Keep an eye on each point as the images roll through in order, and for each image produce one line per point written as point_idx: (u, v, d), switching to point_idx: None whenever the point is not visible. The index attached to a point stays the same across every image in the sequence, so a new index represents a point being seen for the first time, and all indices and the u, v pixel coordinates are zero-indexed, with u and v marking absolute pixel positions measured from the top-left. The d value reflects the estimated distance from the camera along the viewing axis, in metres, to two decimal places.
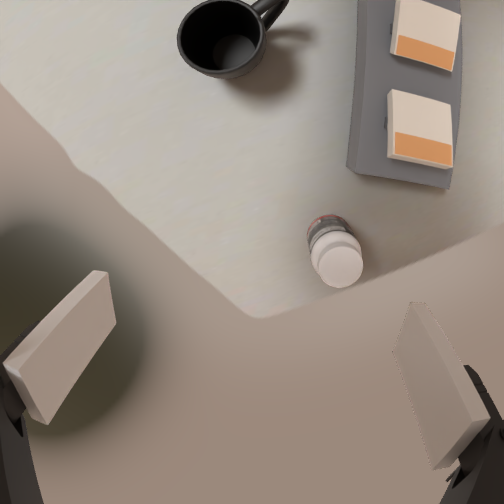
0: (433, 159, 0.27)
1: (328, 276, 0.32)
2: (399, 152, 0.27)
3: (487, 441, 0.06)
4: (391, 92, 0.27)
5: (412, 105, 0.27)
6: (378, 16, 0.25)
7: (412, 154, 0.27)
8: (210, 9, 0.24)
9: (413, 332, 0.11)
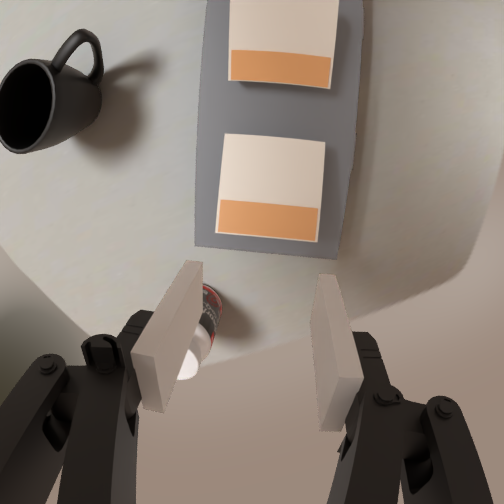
0: (282, 233, 0.22)
1: None
2: (225, 229, 0.22)
3: (361, 409, 0.08)
4: None
5: (254, 153, 0.21)
6: (221, 26, 0.20)
7: (246, 230, 0.22)
8: (24, 72, 0.19)
9: (318, 300, 0.14)
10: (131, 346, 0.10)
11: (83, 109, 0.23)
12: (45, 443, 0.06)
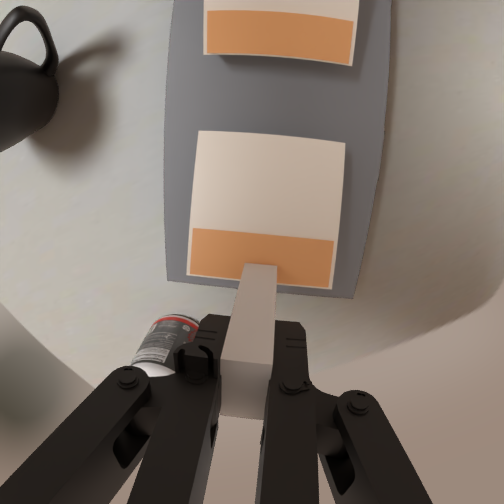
0: (281, 277, 0.15)
1: None
2: (200, 270, 0.15)
3: (268, 400, 0.08)
4: None
5: (242, 160, 0.15)
6: None
7: (230, 271, 0.15)
8: None
9: None
10: None
11: (28, 106, 0.16)
12: (113, 461, 0.06)
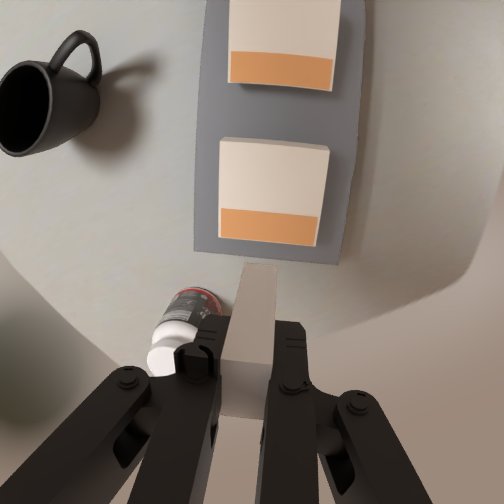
0: (282, 238, 0.23)
1: (160, 373, 0.26)
2: (228, 234, 0.23)
3: (268, 400, 0.08)
4: None
5: (253, 163, 0.20)
6: (220, 27, 0.20)
7: (247, 235, 0.23)
8: (21, 74, 0.19)
9: None
10: None
11: (81, 111, 0.23)
12: (113, 461, 0.06)
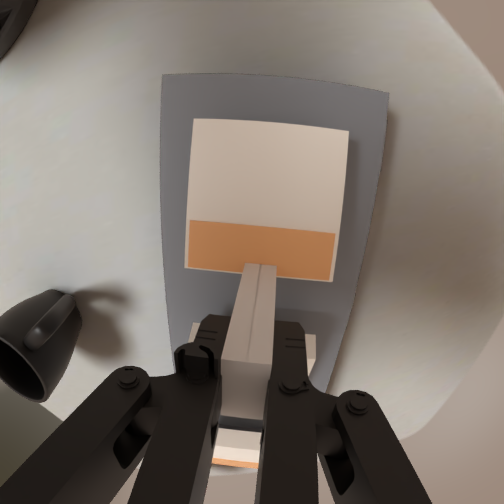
0: (252, 466, 0.26)
1: None
2: (212, 461, 0.26)
3: (267, 400, 0.08)
4: None
5: (226, 451, 0.22)
6: (186, 324, 0.21)
7: (227, 463, 0.26)
8: None
9: None
10: None
11: (68, 356, 0.25)
12: (113, 461, 0.06)
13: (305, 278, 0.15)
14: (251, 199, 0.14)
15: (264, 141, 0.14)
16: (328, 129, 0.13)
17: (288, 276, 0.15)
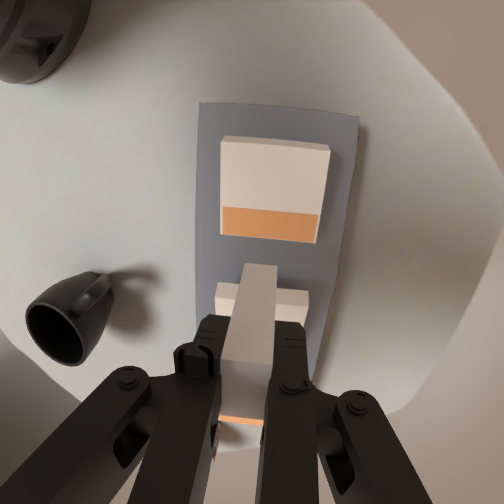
0: (258, 423, 0.32)
1: None
2: (224, 419, 0.32)
3: (267, 400, 0.08)
4: None
5: None
6: (209, 289, 0.28)
7: (236, 421, 0.32)
8: None
9: None
10: None
11: (103, 326, 0.32)
12: (113, 461, 0.06)
13: (298, 241, 0.23)
14: (262, 194, 0.22)
15: (271, 158, 0.20)
16: (315, 150, 0.19)
17: (287, 239, 0.23)
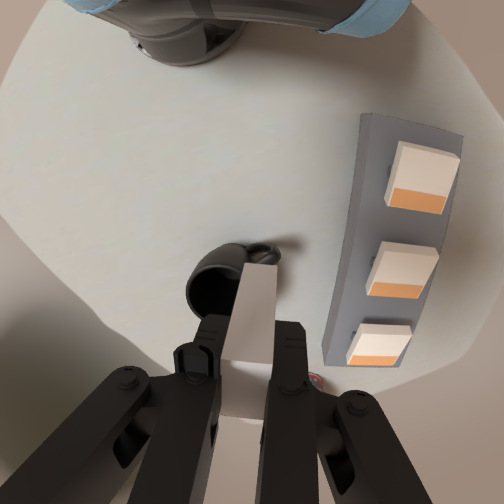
0: (378, 363, 0.40)
1: None
2: (352, 363, 0.41)
3: (268, 400, 0.08)
4: (361, 333, 0.37)
5: (375, 340, 0.37)
6: (362, 250, 0.37)
7: (362, 363, 0.40)
8: None
9: None
10: None
11: None
12: (113, 461, 0.06)
13: (432, 212, 0.32)
14: (419, 182, 0.30)
15: (429, 160, 0.28)
16: (453, 158, 0.27)
17: (426, 211, 0.32)
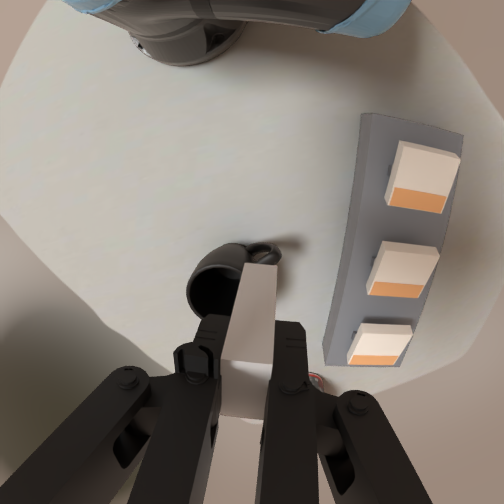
0: (379, 363, 0.40)
1: None
2: (353, 363, 0.41)
3: (268, 400, 0.08)
4: (361, 332, 0.37)
5: (375, 340, 0.37)
6: (363, 250, 0.37)
7: (362, 363, 0.40)
8: None
9: None
10: None
11: None
12: (113, 461, 0.06)
13: (432, 211, 0.32)
14: (420, 181, 0.30)
15: (429, 160, 0.28)
16: (454, 158, 0.27)
17: (426, 210, 0.32)
